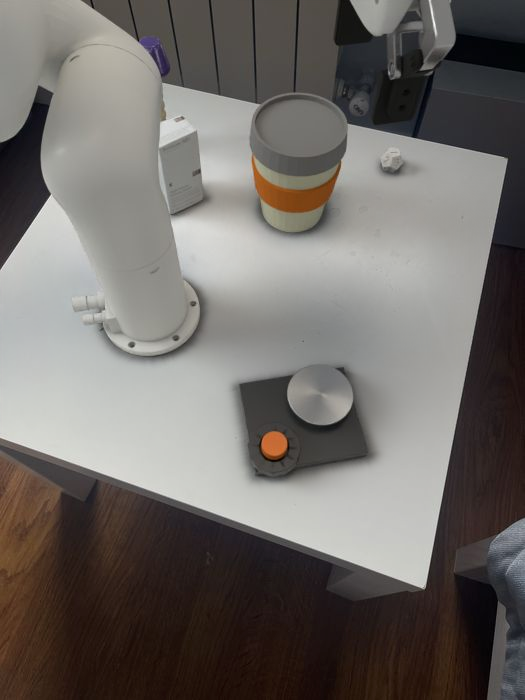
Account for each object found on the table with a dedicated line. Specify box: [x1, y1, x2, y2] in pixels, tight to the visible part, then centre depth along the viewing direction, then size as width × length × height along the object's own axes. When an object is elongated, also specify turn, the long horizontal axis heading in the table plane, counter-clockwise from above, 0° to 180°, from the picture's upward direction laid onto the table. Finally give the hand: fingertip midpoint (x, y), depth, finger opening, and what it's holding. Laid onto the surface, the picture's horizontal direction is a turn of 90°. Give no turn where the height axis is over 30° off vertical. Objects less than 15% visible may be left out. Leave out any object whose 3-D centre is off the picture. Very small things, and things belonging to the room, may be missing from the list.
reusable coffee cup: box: [249, 92, 349, 233], centre depth 73 cm, size 13×13×15 cm
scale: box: [238, 366, 369, 478], centre depth 62 cm, size 13×12×3 cm
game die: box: [380, 147, 404, 173], centre depth 83 cm, size 4×4×3 cm
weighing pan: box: [287, 364, 354, 426], centre depth 62 cm, size 8×8×1 cm
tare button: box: [261, 431, 287, 460], centre depth 59 cm, size 3×3×2 cm
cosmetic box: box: [158, 114, 205, 215], centre depth 75 cm, size 6×4×12 cm
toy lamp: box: [138, 35, 171, 122], centre depth 79 cm, size 5×5×17 cm
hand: (370, 79), depth 42 cm, fingers open, 9 cm apart
